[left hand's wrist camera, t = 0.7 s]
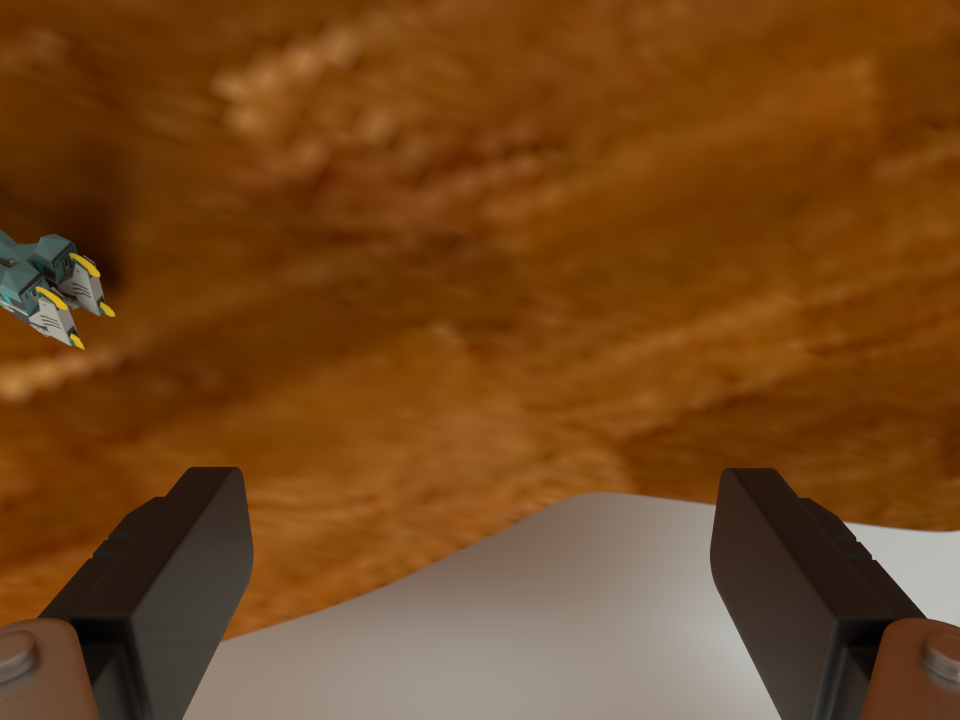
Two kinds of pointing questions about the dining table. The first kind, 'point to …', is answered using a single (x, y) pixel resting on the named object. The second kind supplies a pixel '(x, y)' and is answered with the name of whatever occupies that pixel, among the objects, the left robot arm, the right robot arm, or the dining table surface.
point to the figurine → (49, 285)
